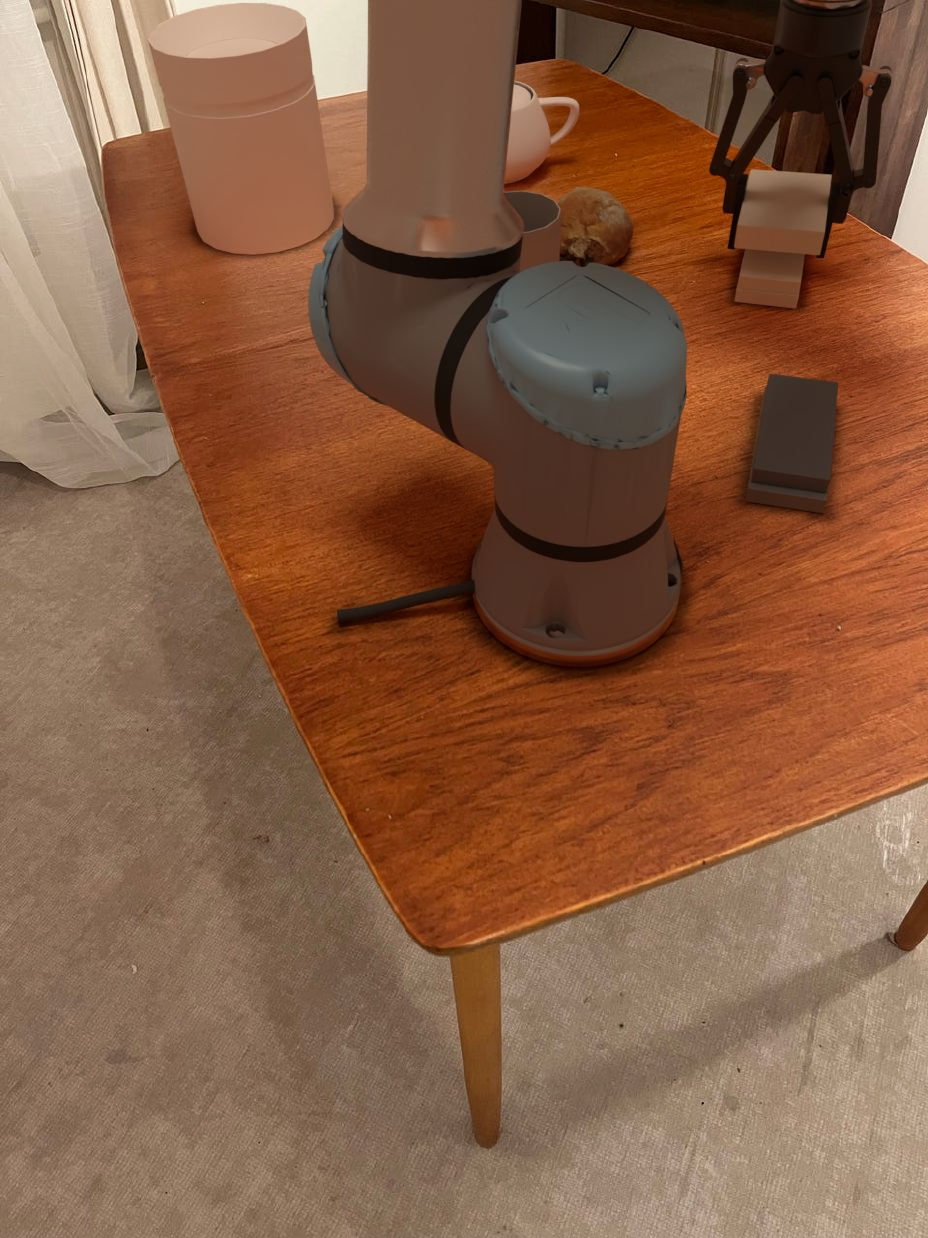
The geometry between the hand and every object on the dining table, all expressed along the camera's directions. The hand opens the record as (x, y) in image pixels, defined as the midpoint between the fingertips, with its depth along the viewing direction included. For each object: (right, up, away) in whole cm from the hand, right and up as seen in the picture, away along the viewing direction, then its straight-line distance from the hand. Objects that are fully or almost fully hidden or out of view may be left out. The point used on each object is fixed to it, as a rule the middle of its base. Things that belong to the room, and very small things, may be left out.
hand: (776, 246), depth 100 cm
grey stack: (-4, -24, -18) cm, 30 cm away
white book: (0, +2, -2) cm, 3 cm away
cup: (-27, -7, -1) cm, 27 cm away
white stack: (0, -2, +2) cm, 3 cm away
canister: (-55, +8, +14) cm, 57 cm away
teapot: (-29, +17, +20) cm, 39 cm away
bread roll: (-19, +2, +6) cm, 20 cm away
